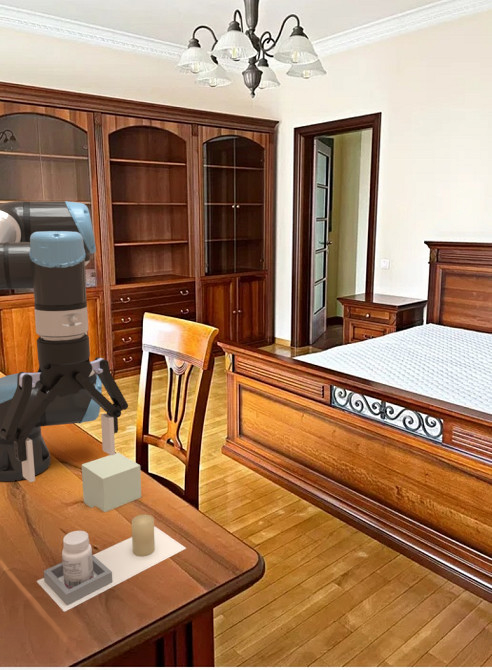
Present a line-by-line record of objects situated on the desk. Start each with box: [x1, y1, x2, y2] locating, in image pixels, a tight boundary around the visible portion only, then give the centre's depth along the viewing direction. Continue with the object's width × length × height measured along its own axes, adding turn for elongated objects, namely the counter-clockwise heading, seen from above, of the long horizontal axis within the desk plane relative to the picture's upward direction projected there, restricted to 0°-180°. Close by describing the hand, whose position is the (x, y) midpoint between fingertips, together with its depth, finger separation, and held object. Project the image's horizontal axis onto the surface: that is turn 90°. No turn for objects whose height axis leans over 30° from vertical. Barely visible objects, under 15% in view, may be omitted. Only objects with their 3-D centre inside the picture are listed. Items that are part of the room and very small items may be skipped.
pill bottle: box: [61, 530, 94, 589], centre depth 90 cm, size 5×5×8 cm
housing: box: [81, 452, 142, 513], centre depth 118 cm, size 9×9×9 cm
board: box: [36, 514, 187, 613], centre depth 95 cm, size 10×24×8 cm, turn 134°
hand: (71, 465), depth 87 cm, fingers open, 13 cm apart
